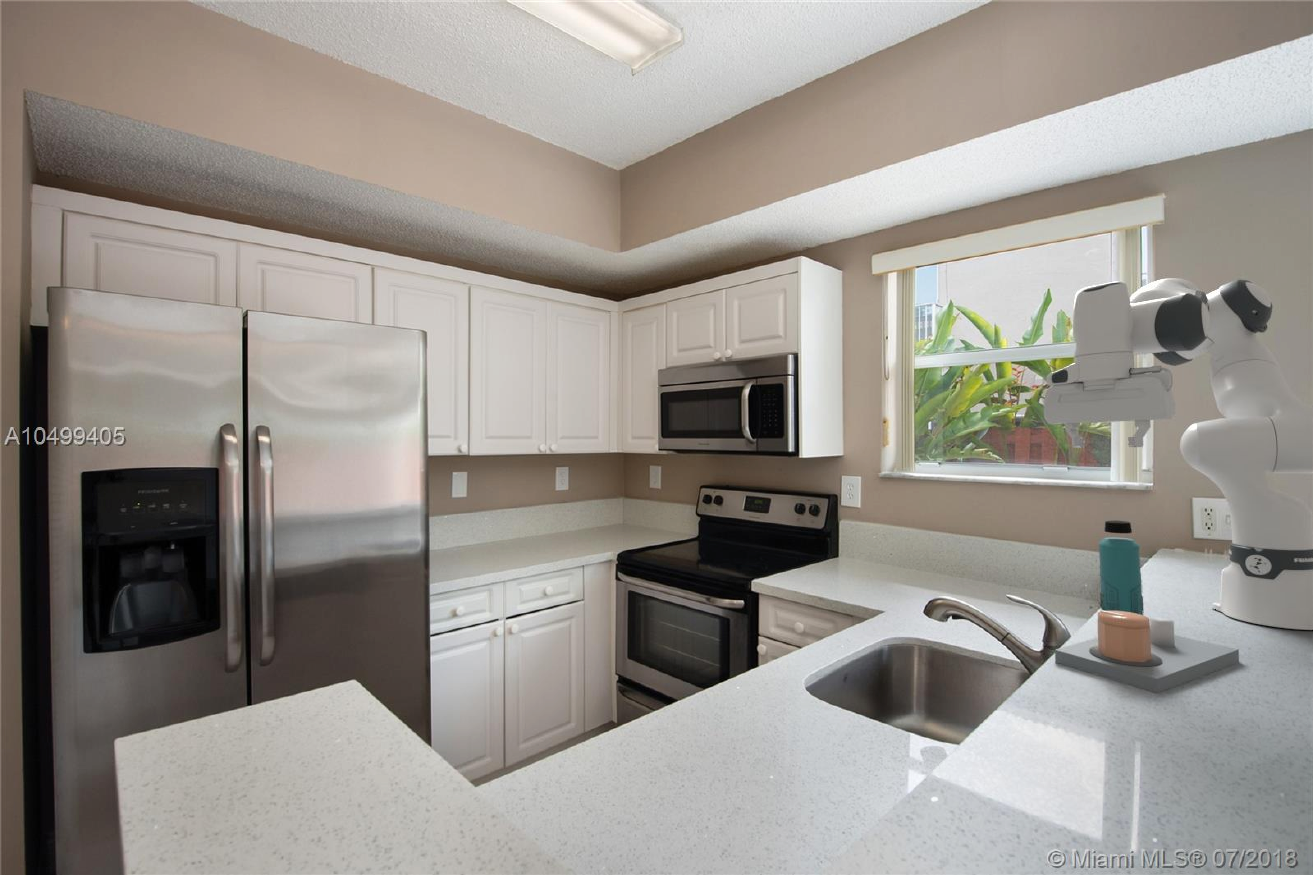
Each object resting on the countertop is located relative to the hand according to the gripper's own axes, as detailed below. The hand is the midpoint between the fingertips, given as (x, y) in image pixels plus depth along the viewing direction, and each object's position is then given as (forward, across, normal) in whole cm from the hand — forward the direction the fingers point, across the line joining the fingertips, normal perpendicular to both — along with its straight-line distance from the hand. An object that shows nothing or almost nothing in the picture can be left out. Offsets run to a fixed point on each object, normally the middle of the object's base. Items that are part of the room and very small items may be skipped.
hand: (1106, 447), depth 111 cm
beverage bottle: (+34, +2, -7) cm, 35 cm away
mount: (+34, -10, +10) cm, 37 cm away
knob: (+32, -10, +16) cm, 37 cm away
